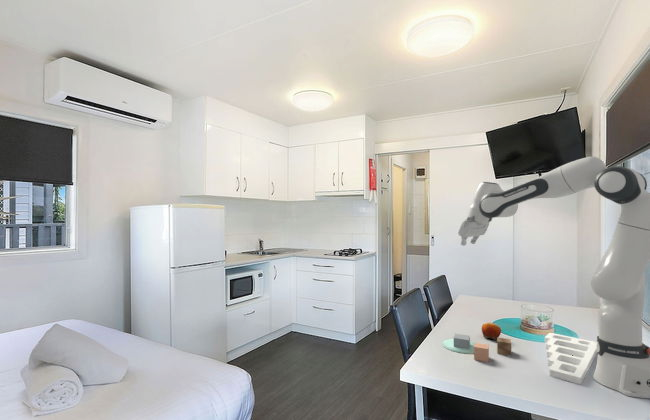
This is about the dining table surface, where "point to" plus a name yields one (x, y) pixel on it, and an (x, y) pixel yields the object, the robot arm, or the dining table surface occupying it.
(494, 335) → the fruit
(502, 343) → the walnut block
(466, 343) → the mint green round disc
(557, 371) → the trivet
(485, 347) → the terracotta block
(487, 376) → the dining table surface
